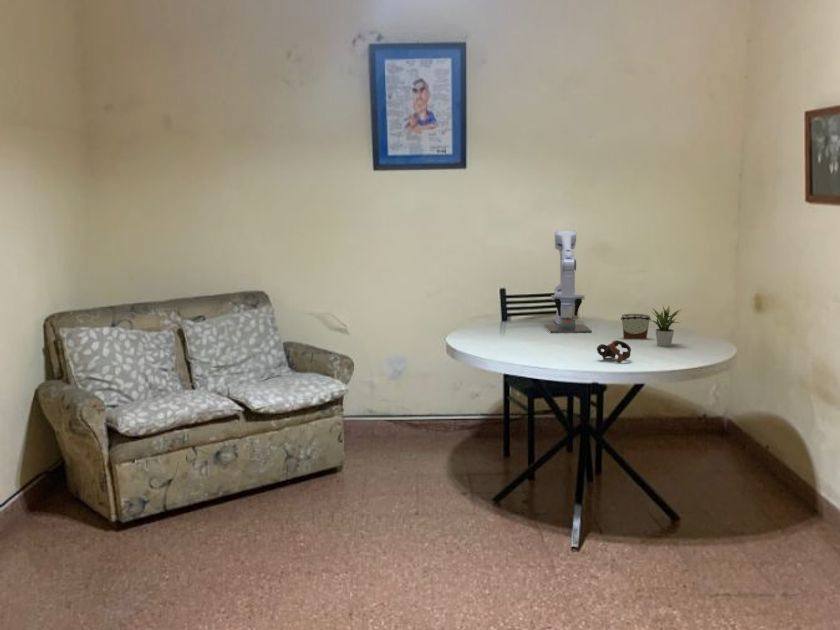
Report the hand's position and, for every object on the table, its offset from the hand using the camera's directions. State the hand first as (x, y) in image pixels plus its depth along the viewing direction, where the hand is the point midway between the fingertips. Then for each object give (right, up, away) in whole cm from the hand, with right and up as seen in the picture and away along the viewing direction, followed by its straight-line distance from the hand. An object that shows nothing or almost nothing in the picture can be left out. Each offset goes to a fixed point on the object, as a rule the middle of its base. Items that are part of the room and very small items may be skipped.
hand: (567, 315), depth 336 cm
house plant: (+32, -12, -39) cm, 52 cm away
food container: (+24, -10, -21) cm, 33 cm away
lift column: (0, -5, +1) cm, 5 cm away
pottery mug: (+4, -17, -64) cm, 67 cm away
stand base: (0, -6, +1) cm, 6 cm away
